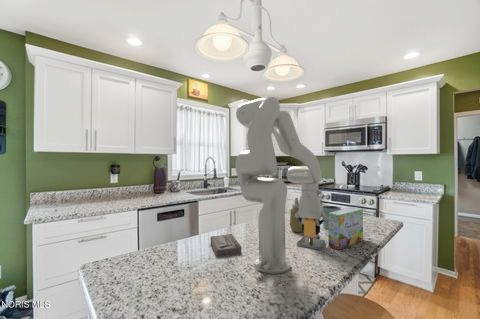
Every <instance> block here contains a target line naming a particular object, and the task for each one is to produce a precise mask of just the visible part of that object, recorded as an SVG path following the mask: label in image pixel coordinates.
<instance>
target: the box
mask: <svg viewBox="0 0 480 319" xmlns="http://www.w3.org/2000/svg"><path fill="white" fill-rule="evenodd" d="M210 244H211V247H212V249H213V251H214V253H215V256H216V257H223V256H230V255H231V256H232V255H233V256H234V255H237V254H242V246H241V244H240V243H239V242H238V240H237V239H236V238H235V236H234V235H233V234H232V233H230V234H223V235H222V234H221V235H213V236H210Z"/></svg>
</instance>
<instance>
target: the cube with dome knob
mask: <svg viewBox="0 0 480 319" xmlns="http://www.w3.org/2000/svg"><path fill="white" fill-rule="evenodd" d="M309 236H311V237H313V238H314V237H316V236H317V235H316V221H315V219H310V218H306V219H304V233H303V237H309Z"/></svg>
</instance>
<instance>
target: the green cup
mask: <svg viewBox="0 0 480 319" xmlns="http://www.w3.org/2000/svg"><path fill="white" fill-rule="evenodd" d="M322 207H323V213H324V214H325V215H326V216H327V218H328V219H327V220H326V221H324V222H323V223H322V226H323V229H324V230H327V231H329V213H331V212H335V211H339V210H342V207H340V206H336V205H322ZM321 219H323V217H321Z"/></svg>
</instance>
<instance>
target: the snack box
mask: <svg viewBox="0 0 480 319" xmlns="http://www.w3.org/2000/svg"><path fill="white" fill-rule="evenodd" d="M363 210H364V209H363V208H360V207H353V206H352V207H348V208H344V209H341V210H339V211H335V212H331V213H329V230H328V247H329V248H331V249H335V250H338V251H340V250H342V249H344V248H347V247H349V246H353V245H354V244H357V243H359V242H361V241H363V240H364V223H363V222H364V218H363V216H364V213H363Z"/></svg>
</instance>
